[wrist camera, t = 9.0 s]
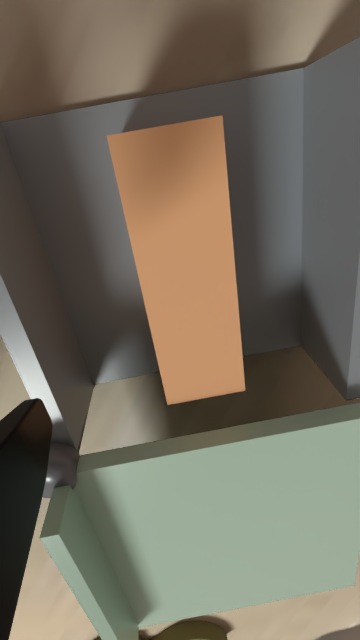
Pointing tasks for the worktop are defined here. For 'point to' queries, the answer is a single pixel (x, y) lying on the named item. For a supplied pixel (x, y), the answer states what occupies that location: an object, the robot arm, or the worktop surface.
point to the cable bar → (184, 252)
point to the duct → (246, 218)
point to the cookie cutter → (191, 632)
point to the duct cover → (207, 519)
